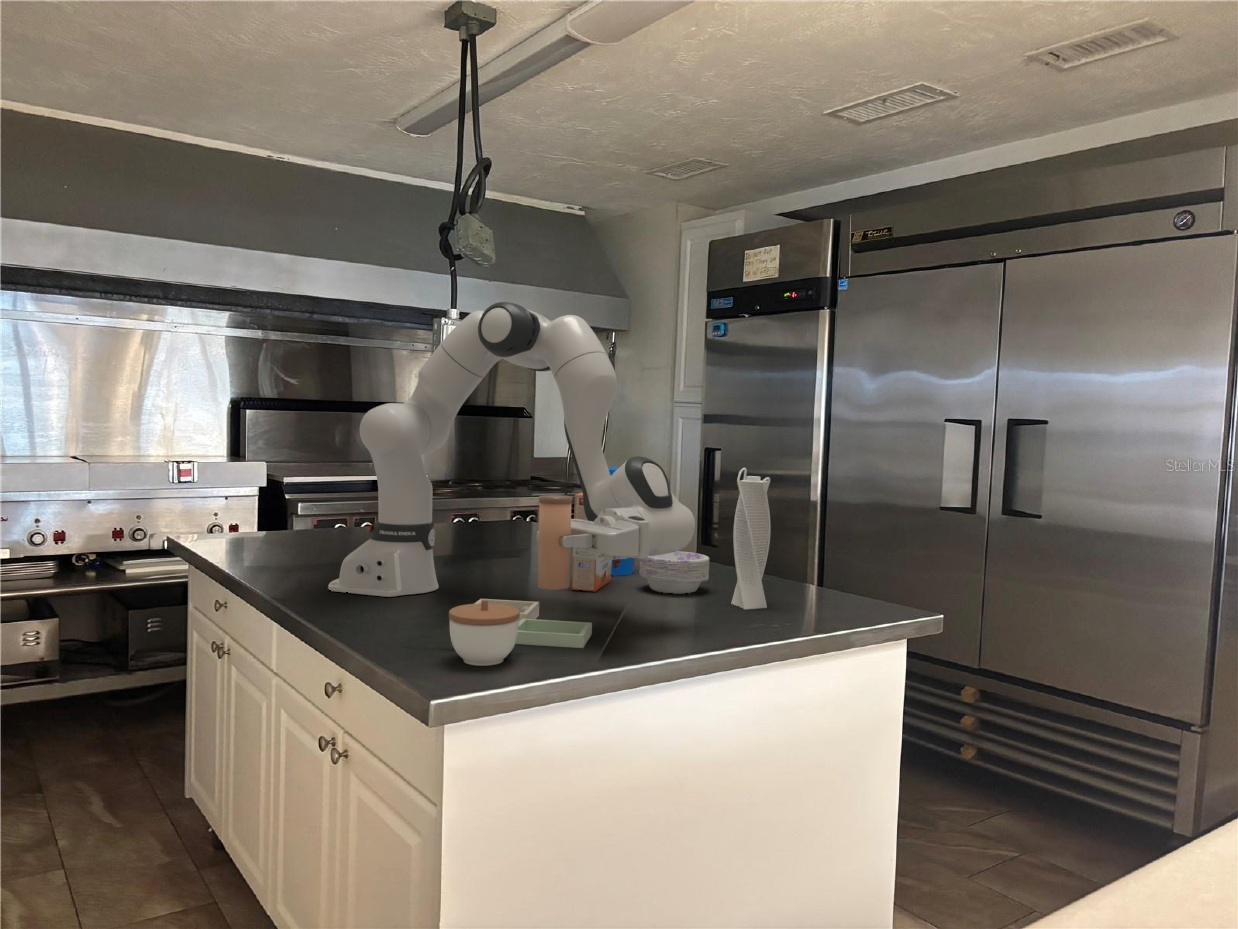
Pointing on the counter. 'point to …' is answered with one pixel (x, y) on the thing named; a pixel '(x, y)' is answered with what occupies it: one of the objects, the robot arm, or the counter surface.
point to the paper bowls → (675, 571)
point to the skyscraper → (751, 541)
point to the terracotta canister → (554, 542)
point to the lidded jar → (483, 632)
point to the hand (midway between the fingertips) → (550, 539)
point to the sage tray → (553, 633)
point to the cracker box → (588, 561)
